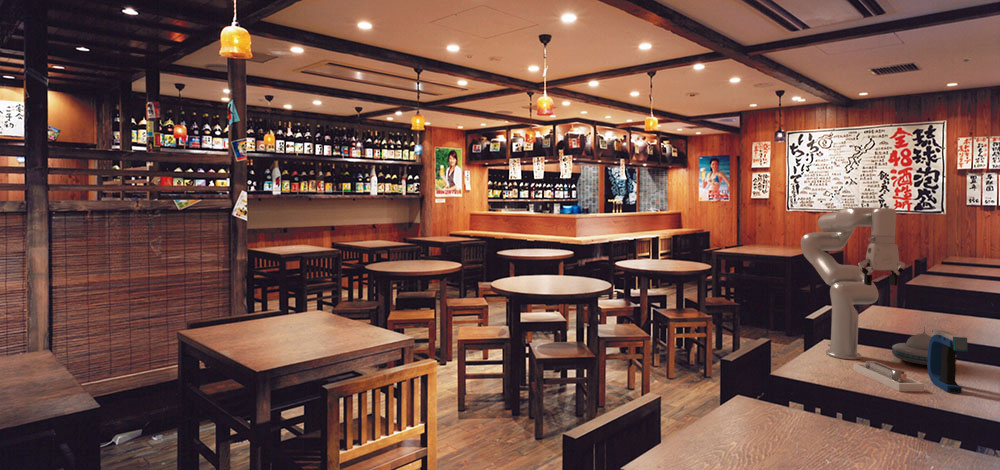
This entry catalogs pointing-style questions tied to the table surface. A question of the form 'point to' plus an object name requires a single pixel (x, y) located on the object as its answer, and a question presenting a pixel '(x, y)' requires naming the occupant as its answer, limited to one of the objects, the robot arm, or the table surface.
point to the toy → (914, 349)
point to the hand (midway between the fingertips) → (880, 285)
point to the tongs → (886, 371)
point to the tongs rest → (889, 380)
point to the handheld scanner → (944, 359)
